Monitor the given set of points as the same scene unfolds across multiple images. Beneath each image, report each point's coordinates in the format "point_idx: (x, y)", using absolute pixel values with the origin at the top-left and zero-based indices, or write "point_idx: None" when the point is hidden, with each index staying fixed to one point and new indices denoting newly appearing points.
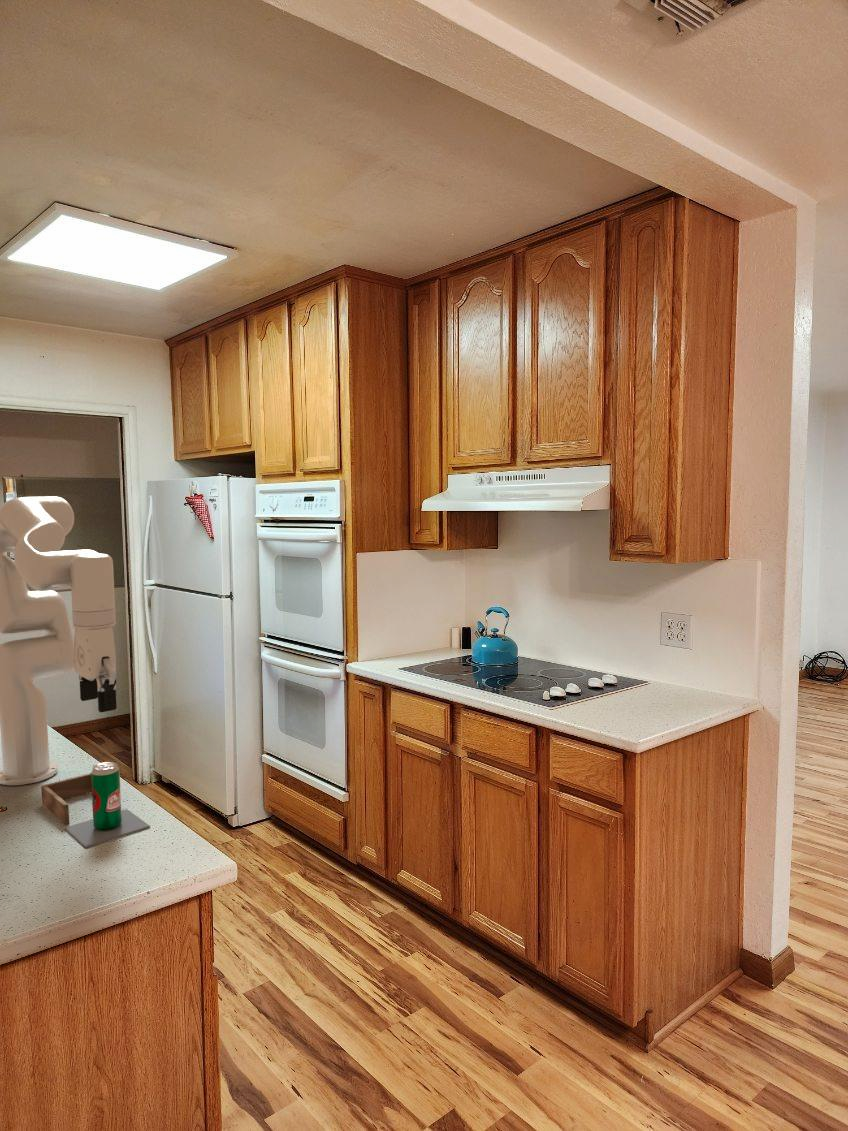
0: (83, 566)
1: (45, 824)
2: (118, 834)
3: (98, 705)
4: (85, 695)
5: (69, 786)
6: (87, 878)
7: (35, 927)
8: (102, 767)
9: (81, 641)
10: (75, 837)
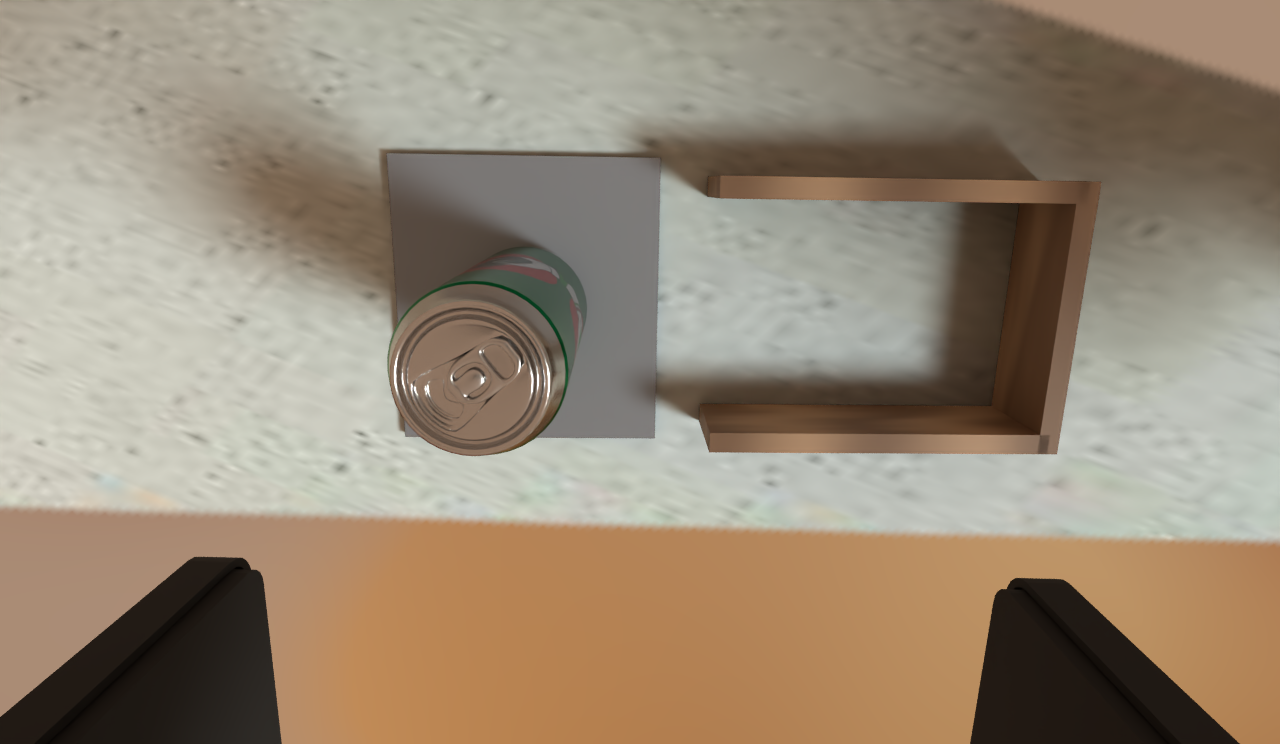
0: None
1: (789, 110)
2: (409, 306)
3: (168, 607)
4: (1030, 677)
5: (1036, 317)
6: (86, 49)
7: None
8: (445, 355)
9: None
10: (517, 155)
